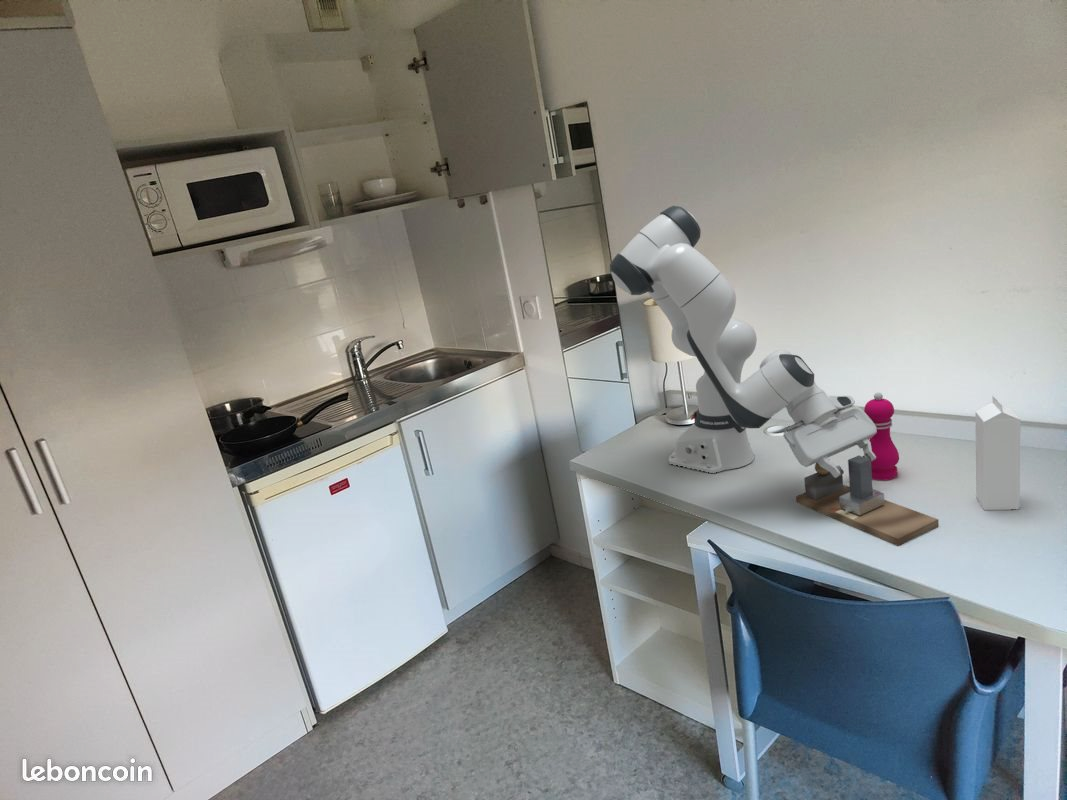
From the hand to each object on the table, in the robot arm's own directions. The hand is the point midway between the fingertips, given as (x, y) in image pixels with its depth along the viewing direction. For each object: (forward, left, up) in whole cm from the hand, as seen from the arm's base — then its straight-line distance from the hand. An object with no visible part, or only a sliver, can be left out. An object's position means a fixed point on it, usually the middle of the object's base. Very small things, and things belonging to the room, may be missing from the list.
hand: (856, 468), depth 143 cm
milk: (+23, +10, -10) cm, 27 cm away
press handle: (+1, -3, -8) cm, 8 cm away
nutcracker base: (+1, -2, -9) cm, 10 cm away
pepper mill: (0, +18, -10) cm, 20 cm away
